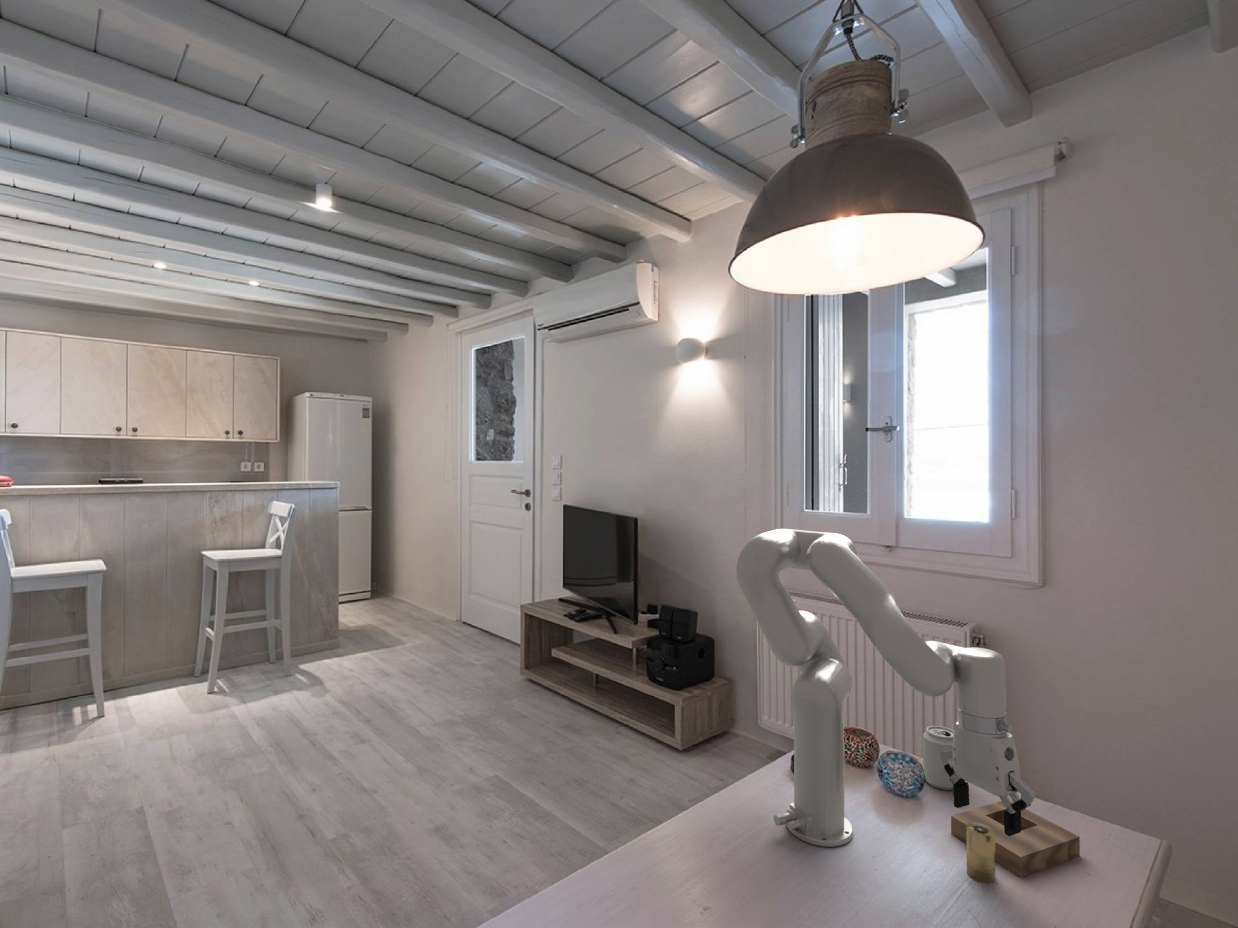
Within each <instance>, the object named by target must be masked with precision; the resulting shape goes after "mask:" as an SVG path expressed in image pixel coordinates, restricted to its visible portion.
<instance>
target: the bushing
mask: <svg viewBox="0 0 1238 928" xmlns="http://www.w3.org/2000/svg"><path fill="white" fill-rule="evenodd" d="M996 864H997V863H996V859H995V831H994V830H993V829H992V828H991V827H989V826H987V825H984V824H981V823H968V824H967V843H966V874H967V875H968V876H969V878H971V879H973V880H974V881H976V882H978V883H982V884H987V885H988V884H989V885H990V884H993V883H995V882H996V879H997V878H996V866H997V865H996Z"/></svg>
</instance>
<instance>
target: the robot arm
mask: <svg viewBox="0 0 1238 928" xmlns="http://www.w3.org/2000/svg"><path fill="white" fill-rule="evenodd" d="M857 551H858V550H857V548H856V546H855V544H854V542H853V541H852V539H850V538H849V537H847V536H846V535H844V534H841V533H836V532H824V531H823V532H822V531H814V530H813V531H812V530H811V531H810V530H804V529H803V530H801V529H793V528H789V529H788V528H776V529H773V530H769V531H766V532H762V533H759V534H757V535H755V536H754V537H752V538H751V539H750V540H749V541H748V542H747V543H746V544H745V545H744V546H743V548H742V550H741V551H740V553H739V556H738V558H737V562H736V570H735V571H736V572H735V573H736V580H737V583H738V586H739V588H740V591H741V593H742V595H743V596H744V598H745V600H746V603H747V604H748V606H749V607H750V610H751V612H752V614H753V615H754V618H755V620H756V622H757V624H758V626H759V628H760V629H761V632H762V634H763V636H764V637H765V639H766V642H767V643H768V646H769V647H770V650H771V651H772V653H773V655H774V656H775V658H776V659H777V660H778V661H779V662H780V663H781V664H783V665H785V666H787V667H797V668H799V671H800V672H801V673H800V674H799V675H798V676H797V678H796V679H795V681H794V683H793V685H792V686H793V687H792V690H791V696H790V698H791V699H790V701H791V710H792V711H791V712H792V718H793V719H792V720H793V753H794V754H793V765H794V766H793V767H794V768H793V769H794V770H793V778H794V779H793V782H794V783H793V789H794V790H793V796H794V797H793V802H791V803H789V809H787V810H786V812H785V813H778V814H775V815H774V816H773V822H774V824H775V825H776V827H779V826H785V825H786V827H787V828H788V831H789V832H790V833H791V834H792V835H793V836H794V837H796V838H798V839H800V840H801V841H802V842H806V843H808V844H810V845H813V846H818V847H827V848H828V847H834V848H835V847H839V846H843V845H846V844H847V843H848V842H850V841H851V840H852V839H853V835H854V834H853V833H854V829H853V828H854V827H853V825H852V823H851V822H850V820H849V819H847V817H845V730H844V729H845V728H844V718H843V716H844V715H843V710H844V705H845V703H846V701H847V699H848V697H849V695H850V693H851V690H852V686H853V685H852V684H853V681H852V676H851V673H850V670H849V668H848V666H847V664H846V662H845V660H844V658H843V657H842V655H841V653H840V650H839V649H838V648H837V646H836V644H835V642H834V640H833V638H832V637H831V635H830V633H829V631H828V630H827V628H826V626H825V625H824V623H823V622H822V621H821V619H820V618H818V617H817V616H816V615H815V614H813V613H812V612H810V611H807V610H803V609H798V607H797V606H796V603H795V602H794V600H793V598H792V595H791V594H790V593H789V591H788V589H787V588H786V587H785V586H784V585H783V583H782V582H781V580H780V577H779V574H780V572H781V571H784V570H786V569H787V568H788V569H797V570H806V571H810V572H811V573H812V574H813V575H814V576H815V577H816V578H817V580H819V582H820V583H822V585H824V587H825V588H826V589H827V591H829V592H830V594H832V595H833V596H834V597H835V598H836V599H837V601H838V602H840V604H842V606H843V607H844V608H845V609H847V611H848V612H849V613H850V614H851V616H852V617H854V619H855V620H856V621H857V622H858V625H859V626H860V627H861V630H862V631H863V632H864V633H865V635H866V636H867V637H868V639H869V640H870V641H871V643H872V644H873V646H874V647H875V649H876V650H877V651H878V653H879V654H880V655H881V657H882V659H884V660H885V661H886V663H887V664H888V665H890V667H891V668H892V669H893V670H894V671H895V672H896V673H897V674H898V675H899V676H900V677H901V679H902V680H903V681H905V683H906V684H907V685H909V686H910V687H911V688H912V689H913V690H914V691H916V692H918V693H920V694H921V695H925V696H927V697H940V696H943V695H945V694H947V693H948V692H949V691H951V688H952V687H953V685H954V684H955V686H956V696H957V697H956V699H957V701H956V702H957V722H955V727H954V730H953V731H954V738H953V750H950V751H944V752H941V753H940V756H941V759H942V761H943V764H944V769H945V770H946V772H947V774H948V775H949V777H950V778H949V780H950V782H951V783H952V784H953V789H952V791H953V807H954V808H957V809H960V808H963V807H966V806H970V791H969V790H970V784H972V785H974V786H975V787H978V788H980V789H981V790H984V791H986V792H988V793H990V794H992V795H995V796H996V797H999V799H1000V800H1001V801H1002V802H1003V804H1004V805H1005V807H1006V809H1007V810H1006V811H1004V832H1005V834H1006V835H1008V836H1012V835H1015V834H1018V833H1020V832H1021V828H1022V825H1021V811H1022V810H1024V809H1027V808H1029V807H1031V805H1032V803H1033V801H1034V799H1035V798H1036V794H1037V793H1036V792H1035V791H1034V790H1033V789H1032V788H1031V787H1030V786H1029V785H1028V784H1027V783H1026V782H1024V780H1022V779H1021V778H1022V777H1021V769H1020V764H1019V763H1020V761H1019V756H1018V750H1017V746H1016V743H1015V739H1014V736H1013V734H1012V732H1013V729H1014V726H1013V725H1012V724H1010V723H1009V722H1008V711H1007V710H1008V709H1007V706H1008V705H1007V687H1006V684H1007V683H1006V665H1005V664H1006V663H1005V660H1004V657H1003V656H1002V655H1001V653H999V652H997V651H995V650H994V649H993V650H992V649H989V648H984V647H977V646H976V647H972V646H971V647H964V646H958V645H954V644H951V643H946V642H942V641H935V640H925V641H924V639H923V638H922V637H920V634H918V633H917V632H916V631H915V630H914V628H913V627H912V625H910V623H909V622H908V620H907V619H906V618H905V616H904V615H903V613H902V611H901V608H900V607H899V604H898V601H897V599H896V597H895V595H894V593H893V592H892V590H891V589H890V588H889V587H888V586H887V585H886V584H885V583H884V582H883V581H882V580H881V579H880V578H879V577H878V576H877V575H876V574H875V573H874V572H873V571H872V570H871V569H870V568H869V567H868V566H867V565H866V564H865V563H864V562H863V561H862V560H861V559H860V558H859V556H858V552H857ZM952 758H953V761H952ZM969 783H970V784H969ZM1017 793H1020V795H1021V796H1019V795H1018V794H1017ZM1009 797H1010V798H1009ZM1011 802H1013V804H1012V803H1011Z"/></svg>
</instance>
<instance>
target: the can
mask: <svg viewBox="0 0 1238 928" xmlns="http://www.w3.org/2000/svg"><path fill="white" fill-rule="evenodd" d="M953 738H954V730H953V729H951V728H949V727H945V726H941V725H930V726H927V727H926V728H925V731H924V733H923V734H922V770H923V769H924V773H925V775H926V780H925V781H926V782H927V783H928V784H929V786H932V787H934V788H936V789H940V790H945V791H949V790H952V791H953V784H952V783H951V782H950V780H949V778H950V777H949V775H948V774H947V772H946V770H945V769H944V764H943V761H942V759H941V756H940V753H941V752H944V751H950V750H953ZM952 761H953V758H952Z"/></svg>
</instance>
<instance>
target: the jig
mask: <svg viewBox="0 0 1238 928" xmlns="http://www.w3.org/2000/svg"><path fill="white" fill-rule="evenodd" d="M1011 803H1012V804H1013V801H1011ZM1006 810H1007V809H1006V807H1005V805H1004V804H1003V802H1002V800H1001V801H997V802H994V803H990V804H987V805H983V806H980V807H976V808H973V809H970V810H966V811H962V812H959V813H955V814H953V815H950V833H951V835H953V836H955V837H956V838H957V839H960V841H962V842H964V843H965V844H967V824H968V823H981V824H984V825H987V826H989V827H991V828H992V829H993V830H994V831H995V859H996V862H997V864H998V865H999V864H1000V865H1001V866H1002V867H1004V868H1005V869H1007V870H1009V871H1011V872H1012V873H1014V874H1015V875H1017V876H1018V877H1020V878H1022V877H1026V876H1027V875H1030V874H1033V873H1036V872H1039V871H1042V870H1044V869H1046V868H1050V867H1052V866H1055V865H1058V864H1061V863H1064V862H1066V861H1069V860H1071V859H1075V858H1077V857H1080V856H1081V853H1080V849H1081V847H1080V846H1081V845H1080V843H1081V841H1080V840H1081V839H1080V836H1079V835H1077V834H1075V833H1073V832H1071V831H1069V830H1068V829H1065V828H1064V827H1061V825H1060V826H1059V825H1058V824H1056V823H1055V822H1052V821H1050V820H1048V819H1046V818H1044V817H1042V816H1040V815H1038V814H1036V813H1035V812H1033V811H1032V810H1031V811H1030V810H1029V809H1027V808H1025V809H1024V810H1022V811H1021V825H1022V828H1021V832H1020V833H1018V834H1015V835H1012V836H1008V835H1006V834H1005V832H1004V811H1006Z"/></svg>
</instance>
